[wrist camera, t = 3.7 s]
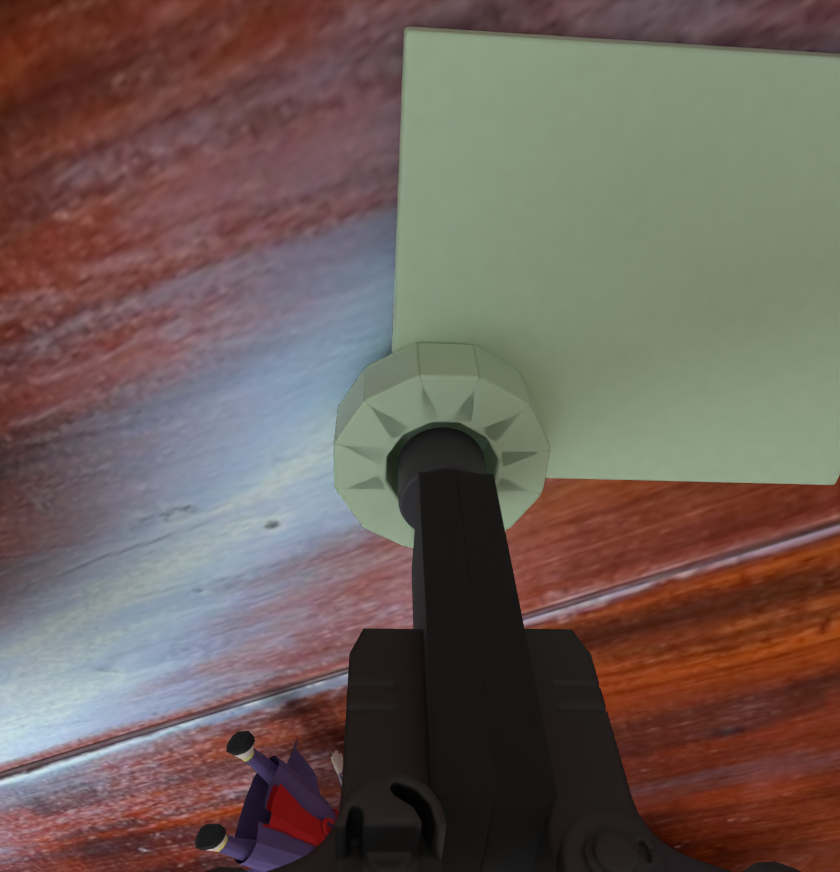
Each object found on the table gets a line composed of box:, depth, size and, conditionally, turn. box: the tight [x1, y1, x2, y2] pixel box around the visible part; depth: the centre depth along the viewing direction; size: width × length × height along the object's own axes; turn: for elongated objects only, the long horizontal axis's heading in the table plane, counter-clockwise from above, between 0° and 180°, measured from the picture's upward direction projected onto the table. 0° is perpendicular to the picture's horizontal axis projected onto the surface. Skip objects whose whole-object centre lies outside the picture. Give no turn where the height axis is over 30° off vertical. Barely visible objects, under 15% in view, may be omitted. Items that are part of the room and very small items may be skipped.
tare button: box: [398, 427, 487, 529], centre depth 16 cm, size 2×2×2 cm
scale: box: [334, 26, 840, 548], centre depth 16 cm, size 13×11×2 cm
